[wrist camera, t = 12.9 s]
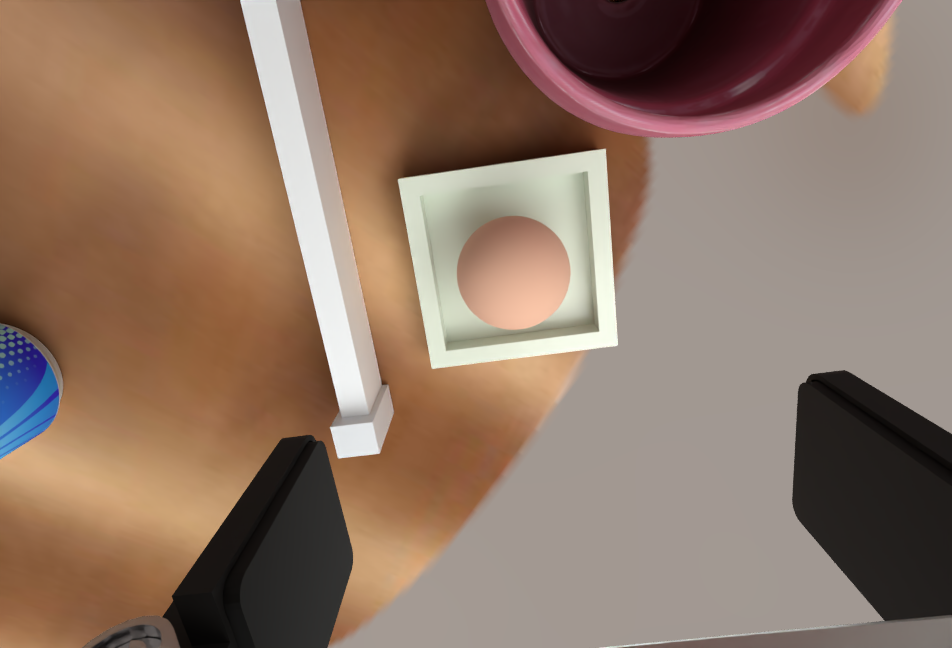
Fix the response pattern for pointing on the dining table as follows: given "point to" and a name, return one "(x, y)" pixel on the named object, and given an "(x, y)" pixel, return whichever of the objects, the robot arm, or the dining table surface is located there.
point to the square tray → (513, 194)
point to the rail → (319, 221)
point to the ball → (513, 272)
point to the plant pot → (684, 57)
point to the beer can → (26, 388)
